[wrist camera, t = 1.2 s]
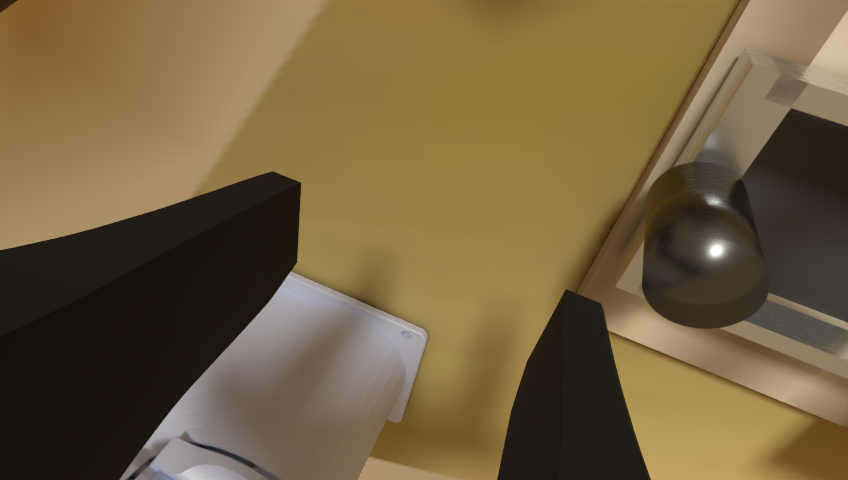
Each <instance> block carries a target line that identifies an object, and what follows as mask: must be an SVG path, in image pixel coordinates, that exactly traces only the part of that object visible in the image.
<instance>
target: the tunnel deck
mask: <svg viewBox="0 0 848 480" xmlns="http://www.w3.org/2000/svg"><path fill="white" fill-rule="evenodd" d="M745 48H748V49H752V50H755V51H758V52H761V53H765V54H768V55H771V56H774V57H778V58H781V59H784V60H787V61H791V62H794V63H797V64H800V65H803V66H807V67H810V68H813V69H816V70H820V71H823V72H826V73H829V74H833V75H836V76H839V77H842V78H846V79H848V0H741V1H740V3H739V4H738V6H737V8H736V10H735V11H734V13H733V15H732V17H731V19H730V20H729V22H728V24H727V26H726V27H725V29H724V31H723V33H722V35H721V36H720V38H719V40H718V42H717V44H716V45H715V47H714V49H713V51H712V52H711V54H710V56H709V58H708V60H707V61H706V63H705V65H704V67H703V68H702V70H701V72H700V74H699V76H698V77H697V79H696V81H695V83H694V84H693V86H692V88H691V90H690V92H689V93H688V95H687V97H686V99H685V100H684V102H683V104H682V106H681V108H680V109H679V111H678V113H677V115H676V116H675V118H674V120H673V122H672V124H671V125H670V127H669V129H668V131H667V132H666V134H665V136H664V138H663V140H662V141H661V143H660V145H659V147H658V148H657V150H656V152H655V154H654V156H653V157H652V159H651V161H650V163H649V164H648V166H647V168H646V170H645V172H644V173H643V175H642V177H641V179H640V180H639V182H638V184H637V186H636V188H635V189H634V191H633V193H632V195H631V196H630V198H629V200H628V202H627V204H626V205H625V207H624V209H623V211H622V212H621V214H620V216H619V218H618V220H617V221H616V223H615V225H614V227H613V228H612V230H611V232H610V234H609V236H608V237H607V239H606V241H605V243H604V244H603V246H602V248H601V250H600V252H599V253H598V255H597V257H596V259H595V260H594V262H593V264H592V266H591V268H590V269H589V271H588V273H587V275H586V276H585V278H584V280H583V282H582V284H581V285H580V287H579V289H578V291H577V294H579V295H582V296H584V297H587V298H589V299H592V300H594V301H596V302H599V303H601V305H602V307H603V309H604V314H605V319H606V324H607V329H608V331H611V332H613V333H616V334H618V335H621V336H623V337H626V338H628V339H630V340H633V341H635V342H638V343H640V344H643V345H645V346H648V347H650V348H652V349H655V350H657V351H660V352H662V353H665V354H667V355H670V356H672V357H674V358H677V359H679V360H682V361H684V362H687V363H689V364H692V365H694V366H696V367H699V368H701V369H704V370H706V371H709V372H711V373H714V374H716V375H718V376H721V377H723V378H726V379H728V380H731V381H733V382H736V383H738V384H740V385H743V386H745V387H748V388H750V389H753V390H755V391H758V392H760V393H762V394H765V395H767V396H770V397H772V398H775V399H777V400H780V401H782V402H784V403H787V404H789V405H792V406H794V407H797V408H799V409H802V410H804V411H806V412H809V413H811V414H814V415H816V416H819V417H821V418H824V419H826V420H828V421H831V422H833V423H836V424H838V425H841V426H843V427H846V428H848V379H847V378H844V377H842V376H839V375H837V374H834V373H832V372H829V371H827V370H824V369H822V368H819V367H816V366H814V365H811V364H809V363H806V362H804V361H801V360H799V359H796V358H794V357H791V356H789V355H786V354H784V353H781V352H779V351H776V350H773V349H771V348H768V347H766V346H763V345H761V344H758V343H756V342H753V341H751V340H748V339H746V338H743V337H741V336H738V335H735V334H733V333H730V332H728V331H725V330H723V329H720V328H714V329H700V328H692V327H687V326H682V325H679V324H676V323H674V322H672V321H669V320H667V319H666V318H664V317H662V316H661V315H660V314H658V313H657V312H656V311H655V310H654V309H653V308H652V307H651V306H650V305H649V304H648V302H647V300H646V299H644V298H642V297H639V296H637V295H634V294H632V293H629V292H627V291H624V290H622V289H619V288H616V287H615V283H616V274H617V265H618V259H619V257H620V255H621V254H622V252H623V250H624V249H625V247H626V245H627V244H628V242H629V240H630V239H631V237H632V235H633V234H634V232H635V230H636V229H637V227H638V225H639V224H640V222H641V220H642V219H643V217H644V215H645V213H646V199H647V194H648V191H649V189H650V187H651V186H652V184H653V183H654V181H655V180H656V179H657V178H658V177H659V176H661V175H662V174H663V173H664V172H666V171H667V170H669V169H671V168H673V167H674V165H675V164H676V162H677V160H678V159H679V157H680V155H681V154H682V152H683V150H684V149H685V147H686V145H687V144H688V142H689V140H690V139H691V137H692V136H693V134H694V132H695V131H696V129H697V127H698V126H699V124H700V122H701V121H702V119H703V117H704V116H705V114H706V112H707V111H708V109H709V107H710V106H711V104H712V102H713V101H714V99H715V97H716V96H717V94H718V92H719V91H720V89H721V87H722V86H723V84H724V82H725V81H726V79H727V77H728V76H729V74H730V72H731V71H732V69H733V67H734V66H735V64H736V62H737V61H738V59H739V57H740V56H741V54H742V52H743V51H744V49H745ZM741 180H742V181H743V183H744V185H745V187H746V190H747V194H748V197H749V201H750V205H751V209H752V213H753V217H754V221H755V225H756V229H757V233H758V237H759V241H760V245H761V249H762V253H763V257H764V261H765V265H766V269H767V273H768V277H769V282H770V288H769V293H768V296H767V300H770V301H772V302H775V303H778V304H780V305H783V306H785V307H788V308H791V309H793V310H796V311H799V312H801V313H804V314H806V315H809V316H812V317H814V318H817V319H820V320H822V321H825V322H827V323H830V324H833V325H835V326H838V327H841V328H843V329H846V330H848V126H846V125H843V124H840V123H836V122H833V121H830V120H827V119H824V118H821V117H818V116H815V115H812V114H809V113H805V112H802V111H799V110H796V109H793V108H791V109H790V110H789V111H788V113H787V114H786V116H785V117H784V118H783V120H782V121H781V123H780V124H779V125H778V127H777V128H776V130H775V131H774V132H773V134H772V135H771V137H770V138H769V139H768V141H767V142H766V144H765V145H764V146H763V148H762V149H761V151H760V152H759V154H758V155H757V156H756V158H755V159H754V161H753V162H752V163H751V165H750V166H749V168H748V169H747V170H746V172H745V173H744V175H743V176H742V177H741Z"/></svg>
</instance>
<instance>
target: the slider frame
mask: <svg viewBox="0 0 848 480" xmlns="http://www.w3.org/2000/svg"><path fill="white" fill-rule="evenodd" d="M791 108H793V109H796V110H799V111H802V112H805V113H809V114H812V115H815V116H818V117H821V118H824V119H827V120H830V121H833V122H836V123H840V124H843V125H846V126H848V79H846V78H842V77H839V76H836V75H833V74H829V73H826V72H823V71H820V70H816V69H813V68H810V67H807V66H803V65H800V64H797V63H794V62H791V61H787V60H784V59H781V58H778V57H774V56H771V55H768V54H765V53H761V52H758V51H755V50H752V49H748V48H745V49H744V51H743V52H742V54H741V56H740V57H739V59H738V61H737V62H736V64H735V66H734V67H733V69H732V71H731V72H730V74H729V76H728V77H727V79H726V81H725V82H724V84H723V86H722V87H721V89H720V91H719V92H718V94H717V96H716V97H715V99H714V101H713V102H712V104H711V106H710V107H709V109H708V111H707V112H706V114H705V116H704V117H703V119H702V121H701V122H700V124H699V126H698V127H697V129H696V131H695V132H694V134H693V136H692V137H691V139H690V140H689V142H688V144H687V145H686V147H685V149H684V150H683V152H682V154H681V155H680V157H679V159H678V160H677V162H676V164H675V165H674V167H673V168H671V169H669V170H667V171H666V172H664V173H663V174H662V175H661V176H659V177H658V178H657V179H656V180H655V181H654V183H653V184H652V186H651V187H650V189H649V191H648V194H647V199H646V213H645V215H644V217H643V219H642V220H641V222H640V224H639V225H638V227H637V229H636V230H635V232H634V234H633V235H632V237H631V239H630V240H629V242H628V244H627V245H626V247H625V249H624V250H623V252H622V254H621V255H620V257H619V259H618V265H617V274H616V283H615V287H616V288H619V289H622V290H624V291H627V292H629V293H632V294H634V295H637V296H639V297H642V298H644V299H646V300H647V302H648V304H649V305H650V306H651V307H652V308H653V309H654V310H655V311H656V312H657V313H658V314H660V315H661V316H662V317H664V318H666V319H667V320H669V321H672V322H674V323H676V324H679V325H682V326H687V327H692V328H700V329H714V328H720V329H723V330H725V331H728V332H730V333H733V334H735V335H738V336H741V337H743V338H746V339H748V340H751V341H753V342H756V343H758V344H761V345H763V346H766V347H768V348H771V349H773V350H776V351H779V352H781V353H784V354H786V355H789V356H791V357H794V358H796V359H799V360H801V361H804V362H806V363H809V364H811V365H814V366H816V367H819V368H822V369H824V370H827V371H829V372H832V373H834V374H837V375H839V376H842V377H844V378H847V379H848V330H846V329H843V328H841V327H838V326H835V325H833V324H830V323H827V322H825V321H822V320H820V319H817V318H814V317H812V316H809V315H806V314H804V313H801V312H799V311H796V310H793V309H791V308H788V307H785V306H783V305H780V304H778V303H775V302H772V301H770V300H767V296H768V293H769V288H770V282H769V277H768V273H767V269H766V265H765V261H764V257H763V253H762V249H761V245H760V241H759V237H758V233H757V229H756V225H755V221H754V217H753V213H752V209H751V205H750V201H749V197H748V194H747V190H746V187H745V185H744V183H743V181H742V180H741V177H742V176H743V175H744V173H745V172H746V170H747V169H748V168H749V166H750V165H751V163H752V162H753V161H754V159H755V158H756V156H757V155H758V154H759V152H760V151H761V149H762V148H763V146H764V145H765V144H766V142H767V141H768V139H769V138H770V137H771V135H772V134H773V132H774V131H775V130H776V128H777V127H778V125H779V124H780V123H781V121H782V120H783V118H784V117H785V116H786V114H787V113H788V111H789V110H790V109H791Z"/></svg>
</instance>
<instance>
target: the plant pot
mask: <svg viewBox="0 0 848 480" xmlns="http://www.w3.org/2000/svg"><path fill="white" fill-rule="evenodd" d="M16 1H17V0H0V12H2V11H3V10H4V9H6V8H7V7H9V6H10V5H11V4H13V3H14V2H16Z"/></svg>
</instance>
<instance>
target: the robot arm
mask: <svg viewBox="0 0 848 480" xmlns="http://www.w3.org/2000/svg"><path fill="white" fill-rule="evenodd" d="M300 194H301V183H300V182H298V181H295V180H293V179H290V178H288V177H285V176H283V175H280V174H278V173H275V172H269V173H266V174H262V175H259V176H256V177H253V178H250V179H247V180H244V181H241V182H238V183H235V184H232V185H229V186H226V187H223V188H220V189H218V190H215V191H212V192H209V193H206V194H203V195H200V196H197V197H194V198H191V199H188V200H185V201H182V202H179V203H176V204H173V205H170V206H168V207H165V208H161V209H158V210H155V211H152V212H148V213H145V214H142V215H138V216H135V217H132V218H128V219H125V220H121V221H118V222H115V223H112V224H108V225H104V226H102V227H98V228H94V229H91V230H87V231H83V232H79V233H75V234H71V235H67V236H63V237H59V238H55V239H50V240H46V241H41V242H37V243H33V244H28V245H23V246H19V247H15V248H9V249H4V250H0V480H357V479H358V477H359V475H360V473H361V471H362V469H363V467H364V465H365V462H366V461H367V459H368V457H369V455H370V453H371V451H372V449H373V447H374V445H375V442H376V440H377V438H378V436H379V434H380V432H381V430H382V428H383V426H384V424H385V422H386V420H389V421H392V422H395V423H398V422H400V421H401V420H402V418H403V416H404V413H405V409H406V406H407V403H408V400H409V397H410V394H411V391H412V388H413V384H414V381H415V378H416V375H417V372H418V369H419V366H420V363H421V359H422V356H423V353H424V350H425V347H426V344H427V341H428V334H427V332H426V331H425V330H424V329H422V328H421V327H418V326H416V325H414V324H411V323H409V322H407V321H404V320H402V319H400V318H397V317H395V316H393V315H391V314H388V313H386V312H384V311H381V310H379V309H377V308H374V307H372V306H370V305H367V304H365V303H363V302H361V301H358V300H356V299H354V298H351V297H349V296H347V295H344V294H342V293H340V292H337V291H335V290H333V289H331V288H328V287H326V286H324V285H321V284H319V283H317V282H314V281H312V280H310V279H308V278H305V277H303V276H301V275H298V274H296V273H294V272H291V270H292V269H293V267H294V266H295V264H296V263H297V252H298V233H299V213H300ZM406 331H407V332H406ZM408 332H409V333H408ZM497 480H651V479H650V476H649V473H648V471H647V468H646V465H645V462H644V459H643V456H642V454H641V451H640V448H639V444H638V441H637V438H636V435H635V432H634V429H633V426H632V422H631V419H630V415H629V412H628V409H627V405H626V402H625V398H624V395H623V392H622V388H621V384H620V380H619V377H618V373H617V369H616V365H615V361H614V356H613V352H612V348H611V343H610V339H609V334H608V329H607V324H606V319H605V314H604V309H603V307H602V305H601V303H599V302H596V301H594V300H592V299H589V298H587V297H584V296H582V295H579V294H577V293H574V292H572V291H569V290H567V289H566V290H565V292H564V294H563V296H562V298H561V300H560V301H559V303H558V305H557V307H556V309H555V311H554V313H553V314H552V316H551V318H550V320H549V322H548V324H547V326H546V327H545V329H544V331H543V333H542V335H541V337H540V338H539V340H538V342H537V344H536V346H535V348H534V350H533V351H532V353H531V355H530V357H529V359H528V361H527V364H526V367H525V370H524V373H523V376H522V379H521V382H520V385H519V388H518V391H517V394H516V398H515V401H514V404H513V407H512V410H511V415H510V420H509V424H508V429H507V434H506V439H505V444H504V449H503V454H502V459H501V464H500V469H499V474H498V479H497Z"/></svg>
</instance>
